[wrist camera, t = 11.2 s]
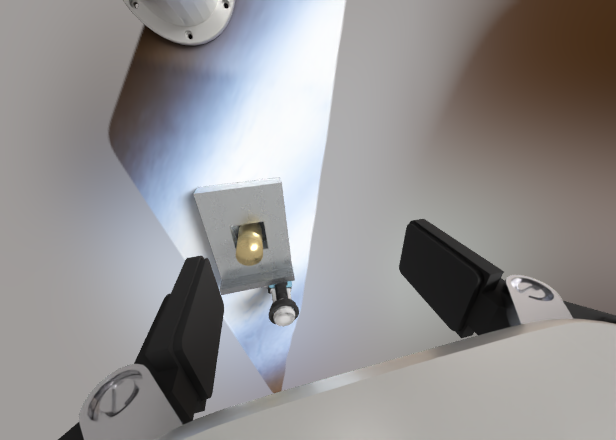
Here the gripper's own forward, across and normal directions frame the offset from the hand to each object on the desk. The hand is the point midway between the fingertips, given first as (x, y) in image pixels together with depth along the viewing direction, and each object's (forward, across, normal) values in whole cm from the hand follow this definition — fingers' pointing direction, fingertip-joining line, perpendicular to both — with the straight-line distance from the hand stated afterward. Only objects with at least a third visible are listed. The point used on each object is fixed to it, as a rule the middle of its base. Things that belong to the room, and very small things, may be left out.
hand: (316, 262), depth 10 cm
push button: (+28, +2, +26) cm, 38 cm away
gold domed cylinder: (+28, +6, +13) cm, 31 cm away
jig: (+28, +6, +13) cm, 31 cm away
